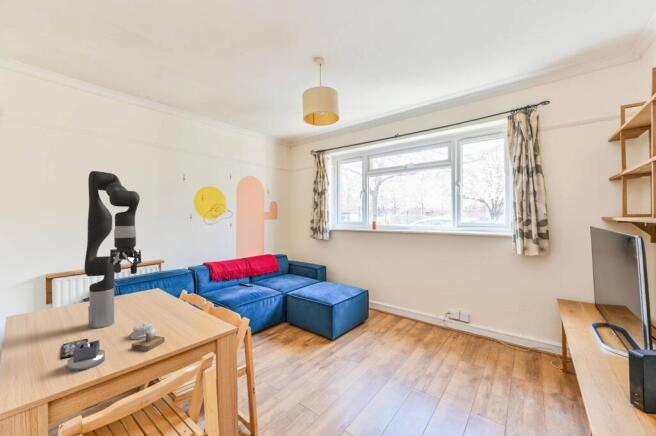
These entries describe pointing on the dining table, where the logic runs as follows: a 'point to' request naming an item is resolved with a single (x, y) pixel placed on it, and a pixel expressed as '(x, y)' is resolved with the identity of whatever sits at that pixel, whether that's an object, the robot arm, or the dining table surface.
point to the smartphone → (70, 348)
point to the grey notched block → (86, 352)
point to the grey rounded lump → (143, 330)
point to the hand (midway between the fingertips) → (125, 273)
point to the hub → (86, 361)
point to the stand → (148, 342)
